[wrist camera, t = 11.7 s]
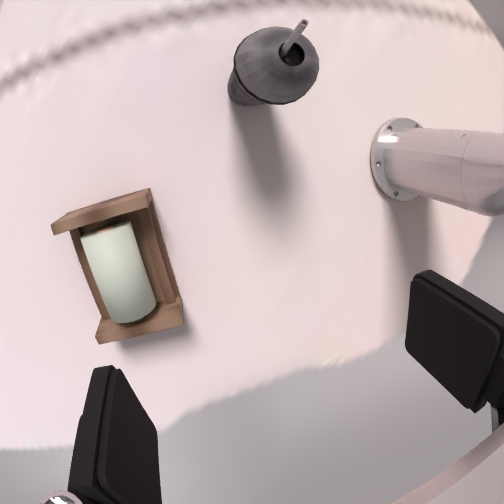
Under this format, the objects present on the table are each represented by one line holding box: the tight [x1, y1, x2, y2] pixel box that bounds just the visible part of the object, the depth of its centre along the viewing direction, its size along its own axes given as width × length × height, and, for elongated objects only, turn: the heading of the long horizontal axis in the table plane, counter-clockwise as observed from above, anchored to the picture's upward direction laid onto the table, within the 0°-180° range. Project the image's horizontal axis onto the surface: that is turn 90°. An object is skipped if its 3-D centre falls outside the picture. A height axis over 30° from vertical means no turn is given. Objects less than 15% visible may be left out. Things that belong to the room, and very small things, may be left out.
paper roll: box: [81, 220, 156, 323], centre depth 33 cm, size 10×6×6 cm, turn 11°
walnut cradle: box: [51, 188, 184, 344], centre depth 34 cm, size 11×15×6 cm
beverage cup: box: [228, 19, 319, 106], centre depth 24 cm, size 7×7×20 cm
